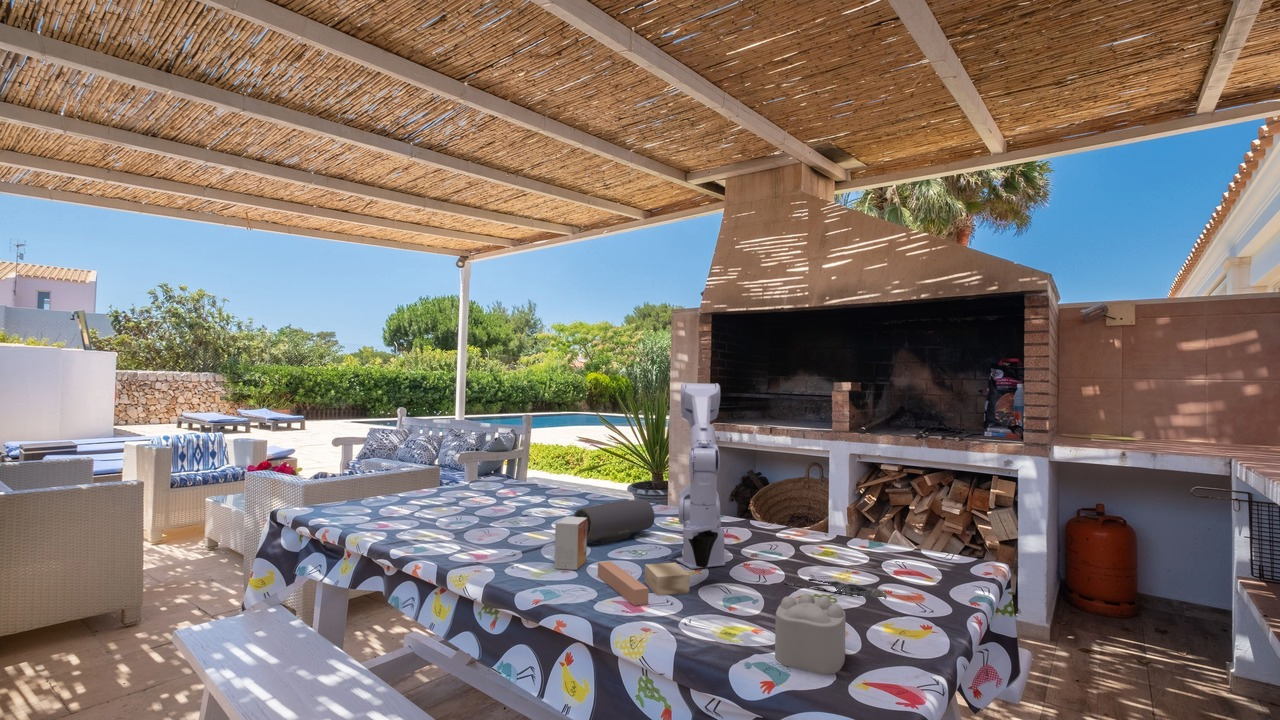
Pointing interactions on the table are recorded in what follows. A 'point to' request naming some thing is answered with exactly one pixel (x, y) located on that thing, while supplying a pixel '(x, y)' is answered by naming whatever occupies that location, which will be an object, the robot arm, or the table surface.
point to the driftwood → (848, 589)
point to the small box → (570, 543)
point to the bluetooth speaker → (617, 519)
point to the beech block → (667, 578)
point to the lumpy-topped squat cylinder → (810, 634)
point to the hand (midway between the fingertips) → (701, 566)
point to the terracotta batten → (623, 583)
